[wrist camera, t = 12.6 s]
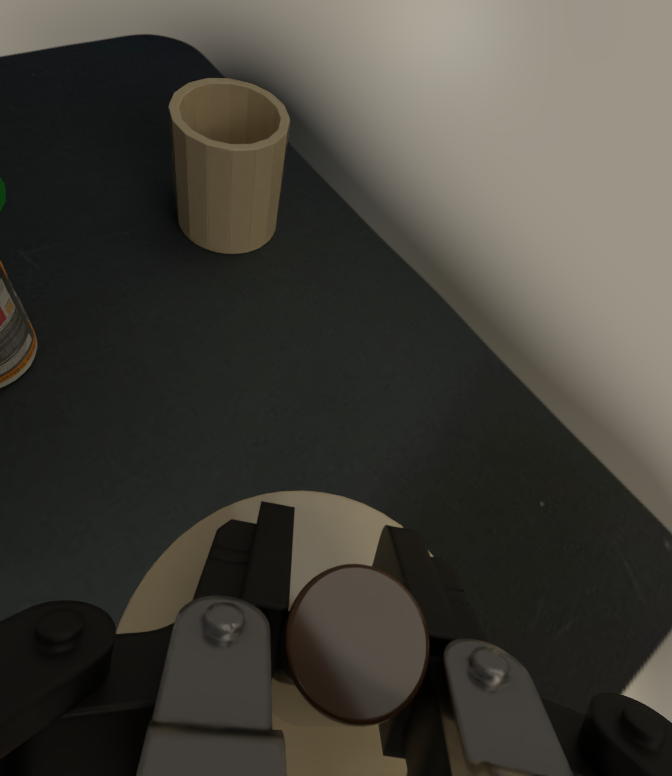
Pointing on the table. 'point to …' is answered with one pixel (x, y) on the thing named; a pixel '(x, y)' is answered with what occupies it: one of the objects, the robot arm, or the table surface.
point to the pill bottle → (14, 334)
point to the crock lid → (317, 630)
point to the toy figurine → (2, 194)
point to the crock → (227, 163)
